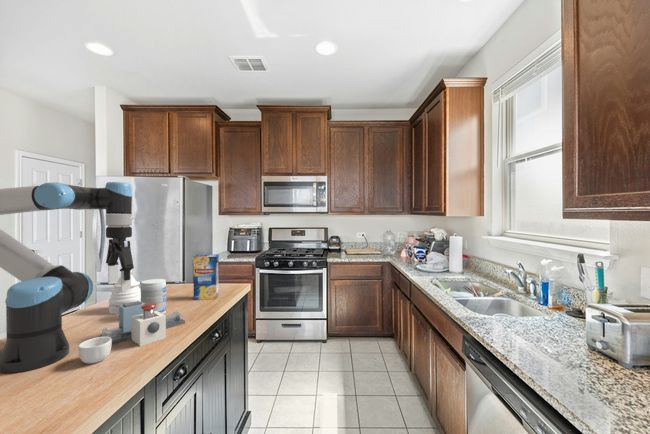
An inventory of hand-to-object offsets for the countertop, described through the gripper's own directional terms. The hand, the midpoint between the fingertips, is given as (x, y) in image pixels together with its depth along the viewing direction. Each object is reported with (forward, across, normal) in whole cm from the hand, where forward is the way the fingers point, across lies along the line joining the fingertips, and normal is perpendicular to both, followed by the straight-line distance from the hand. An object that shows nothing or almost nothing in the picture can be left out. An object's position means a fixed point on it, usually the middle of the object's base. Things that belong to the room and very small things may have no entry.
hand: (119, 286), depth 103 cm
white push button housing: (+18, -10, -6) cm, 21 cm away
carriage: (+16, 0, -4) cm, 17 cm away
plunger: (+14, -10, -6) cm, 18 cm away
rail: (+18, 0, -8) cm, 20 cm away
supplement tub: (+18, +15, -17) cm, 29 cm away
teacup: (+18, -13, +9) cm, 24 cm away
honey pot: (+18, +32, -12) cm, 39 cm away
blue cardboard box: (+18, +22, -45) cm, 53 cm away
